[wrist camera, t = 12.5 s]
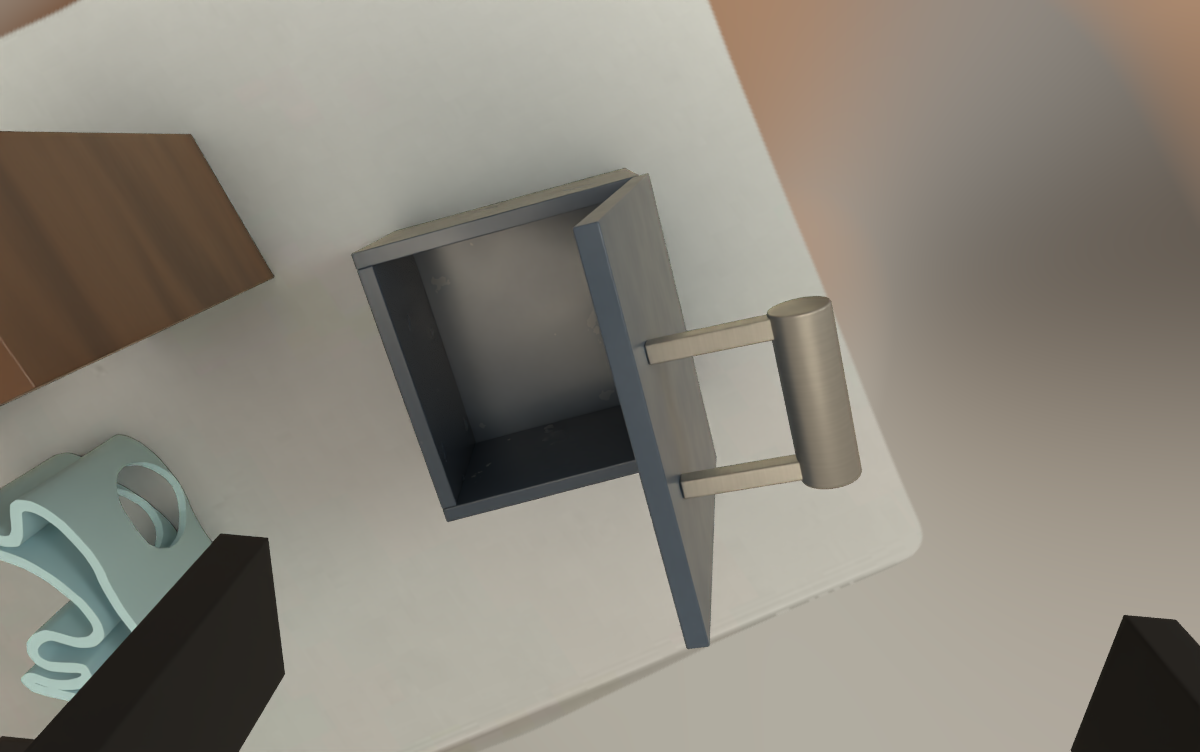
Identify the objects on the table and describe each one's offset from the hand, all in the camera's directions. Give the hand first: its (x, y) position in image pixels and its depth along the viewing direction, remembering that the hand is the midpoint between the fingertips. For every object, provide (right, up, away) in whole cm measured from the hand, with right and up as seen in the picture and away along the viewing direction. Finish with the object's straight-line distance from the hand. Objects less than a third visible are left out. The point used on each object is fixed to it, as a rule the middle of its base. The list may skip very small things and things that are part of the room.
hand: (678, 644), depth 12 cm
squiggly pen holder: (-31, -8, +40) cm, 51 cm away
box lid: (+1, +4, +19) cm, 20 cm away
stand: (-27, +12, +34) cm, 45 cm away
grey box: (-5, +8, +36) cm, 37 cm away
